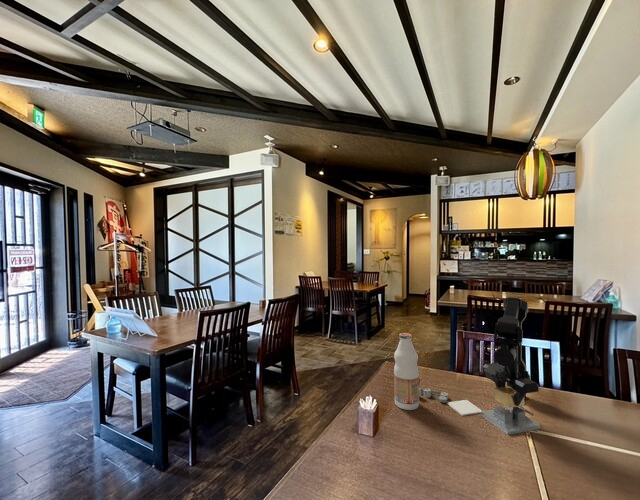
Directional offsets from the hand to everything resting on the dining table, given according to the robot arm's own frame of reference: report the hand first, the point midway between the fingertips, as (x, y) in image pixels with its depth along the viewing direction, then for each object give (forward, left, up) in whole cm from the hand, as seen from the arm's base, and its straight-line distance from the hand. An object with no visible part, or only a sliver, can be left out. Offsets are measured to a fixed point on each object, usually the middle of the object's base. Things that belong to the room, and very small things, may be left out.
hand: (509, 401), depth 108 cm
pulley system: (+19, -30, -8) cm, 36 cm away
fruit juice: (+29, -20, -8) cm, 36 cm away
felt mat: (+9, -12, -8) cm, 17 cm away
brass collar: (0, 0, 0) cm, 0 cm away
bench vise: (0, 0, -8) cm, 8 cm away
